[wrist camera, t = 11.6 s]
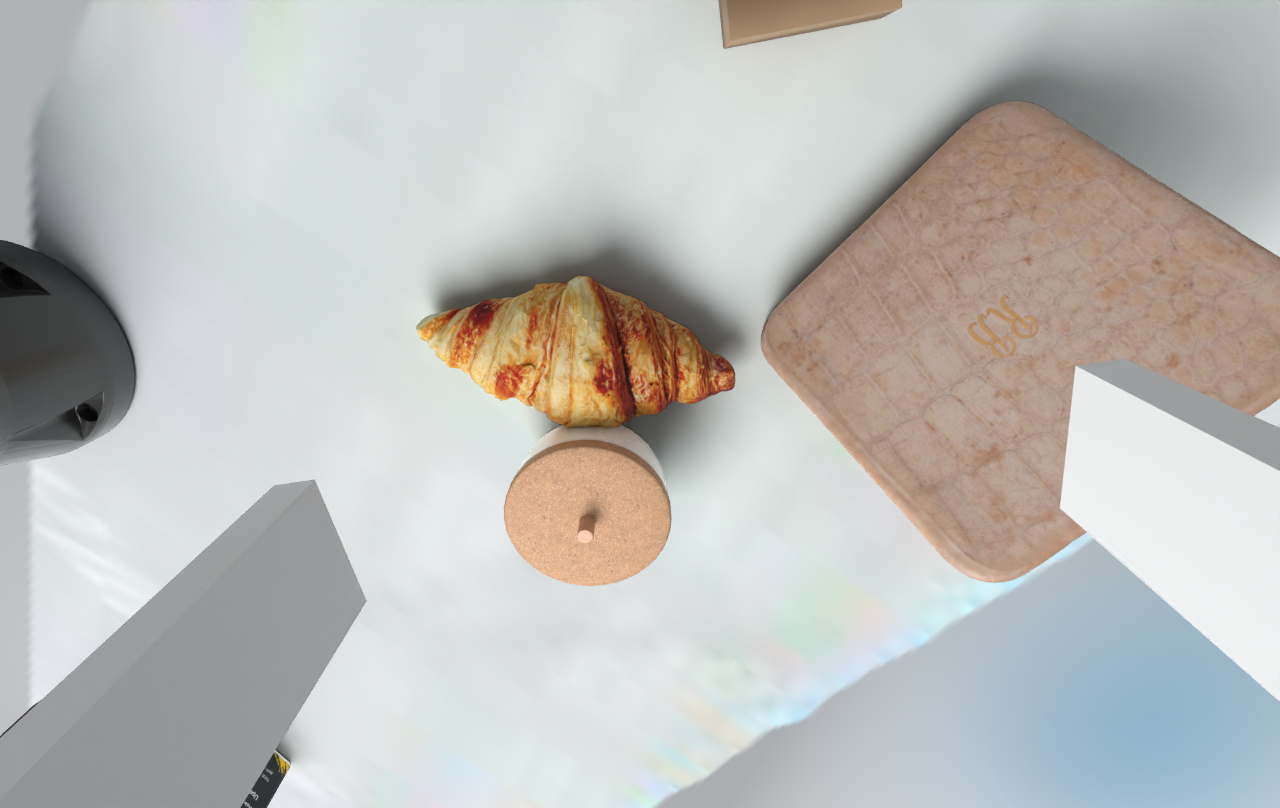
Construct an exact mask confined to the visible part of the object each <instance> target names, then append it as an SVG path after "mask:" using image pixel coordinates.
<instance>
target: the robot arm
mask: <svg viewBox="0 0 1280 808" xmlns="http://www.w3.org/2000/svg"><path fill="white" fill-rule="evenodd" d="M134 384H135V375H134V366H133V360H132V356H131V352H130V349H129V346H128V344H127V341H126V339H125V337H124V334H123V332H122V330H121V328H120V327H119V325H118V323H117V321H116V320H115V318H114V317H113V315H112V314H111V312H110V311H109V310H108V308H107V307H106V306H105V304H104V303H103V302H102V301H101V300H100V298H99V297H98V296H97V295H96V294H95V293H94V292H93V291H92V290H91V289H90V288H89V287H88V286H87V285H86V284H85V283H84V282H83V281H81V280H80V279H79V278H78V277H77V276H75V275H74V274H73V273H71V272H70V271H69V270H67V269H66V268H65V267H63V266H62V265H60V264H58V263H57V262H55V261H54V260H52V259H50V258H48V257H46V256H45V255H43V254H41V253H39V252H36V251H34V250H32V249H29V248H27V247H24V246H21V245H18V244H15V243H12V242H8V241H3V240H0V466H1V465H7V464H12V463H18V462H23V461H29V460H35V459H40V458H46V457H51V456H56V455H60V454H64V453H67V452H70V451H73V450H75V449H78V448H80V447H82V446H84V445H85V444H87V443H89V442H91V441H93V440H95V439H97V438H99V437H100V436H102V435H104V434H106V433H107V432H109V431H110V430H111V429H113V428H114V427H115V426H116V425H117V424H118V423H119V422H120V421H121V420H122V418H123V417H124V415H125V414H126V412H127V410H128V408H129V406H130V404H131V400H132V397H133V392H134ZM1060 509H1061V510H1062V511H1064V512H1065V513H1066V514H1067V515H1068V516H1069V517H1070V518H1072V519H1073V520H1074V521H1075V522H1076V523H1077V524H1078V525H1080V526H1081V527H1082V528H1083V529H1084V530H1085V531H1086V532H1087V533H1089V534H1090V535H1091V536H1092V537H1093V538H1094V539H1095V540H1097V541H1098V542H1099V543H1100V544H1101V545H1103V546H1104V547H1105V548H1106V549H1107V550H1108V551H1109V552H1110V553H1111V554H1113V555H1114V556H1115V557H1116V558H1117V559H1118V560H1119V561H1121V562H1122V563H1123V564H1124V565H1125V566H1126V567H1127V568H1129V569H1130V570H1131V571H1132V572H1133V573H1134V574H1135V575H1137V576H1138V577H1139V578H1140V579H1141V580H1142V581H1143V582H1144V583H1146V584H1147V585H1148V586H1149V587H1150V588H1151V589H1152V590H1153V591H1155V592H1156V593H1157V594H1158V595H1159V596H1160V597H1162V598H1163V599H1164V600H1165V601H1166V602H1167V603H1168V604H1170V605H1171V606H1172V607H1173V608H1174V609H1175V610H1176V611H1178V612H1179V613H1180V614H1181V615H1182V616H1183V617H1184V618H1185V619H1186V620H1188V621H1189V622H1190V623H1191V624H1192V625H1193V626H1194V627H1196V628H1197V629H1198V630H1199V631H1200V632H1201V633H1202V634H1204V635H1205V636H1206V637H1207V638H1208V639H1209V640H1211V642H1213V643H1214V644H1215V645H1216V646H1217V647H1218V648H1219V649H1221V650H1222V651H1223V652H1224V653H1225V654H1226V655H1227V656H1229V657H1230V658H1231V659H1232V660H1233V661H1234V662H1235V663H1237V664H1238V665H1239V666H1240V667H1241V668H1242V669H1243V670H1244V671H1246V672H1247V673H1248V674H1249V675H1250V676H1251V677H1252V678H1254V679H1255V680H1256V681H1257V682H1258V683H1259V684H1260V685H1262V686H1263V687H1264V688H1265V689H1266V690H1267V691H1268V692H1270V693H1271V694H1272V695H1273V696H1274V697H1275V698H1276V699H1278V700H1279V701H1280V428H1278V427H1276V426H1274V425H1272V424H1270V423H1267V422H1265V421H1263V420H1261V419H1258V418H1256V417H1254V416H1252V415H1249V414H1247V413H1245V412H1243V411H1241V410H1238V409H1236V408H1234V407H1232V406H1229V405H1227V404H1225V403H1223V402H1220V401H1218V400H1216V399H1214V398H1212V397H1209V396H1207V395H1205V394H1203V393H1200V392H1198V391H1196V390H1194V389H1191V388H1189V387H1187V386H1185V385H1183V384H1180V383H1178V382H1176V381H1174V380H1171V379H1169V378H1167V377H1165V376H1162V375H1160V374H1158V373H1156V372H1153V371H1151V370H1149V369H1147V368H1145V367H1142V366H1140V365H1138V364H1136V363H1133V362H1131V361H1129V360H1127V359H1118V360H1111V361H1104V362H1097V363H1091V364H1084V365H1077V366H1075V376H1074V385H1073V394H1072V403H1071V412H1070V421H1069V430H1068V439H1067V448H1066V457H1065V466H1064V475H1063V484H1062V493H1061V502H1060ZM365 602H366V599H365V596H364V594H363V592H362V589H361V587H360V585H359V582H358V580H357V578H356V575H355V573H354V571H353V568H352V566H351V564H350V561H349V559H348V557H347V554H346V552H345V550H344V547H343V545H342V543H341V540H340V538H339V536H338V533H337V531H336V529H335V526H334V524H333V522H332V519H331V517H330V515H329V512H328V510H327V508H326V505H325V503H324V501H323V498H322V496H321V494H320V491H319V489H318V487H317V484H316V482H315V480H309V481H302V482H295V483H289V484H282V485H275V486H273V487H272V488H271V489H270V490H269V491H268V492H267V493H266V494H265V495H263V496H262V497H261V498H260V499H259V500H258V501H257V502H256V503H255V504H254V505H253V506H252V507H250V508H249V509H248V510H247V511H246V512H245V513H244V514H243V515H242V516H241V517H240V518H239V519H237V520H236V521H235V522H234V523H233V524H232V525H231V526H230V527H229V528H228V529H227V530H225V531H224V532H223V533H222V534H221V535H220V536H219V537H218V538H217V539H216V540H215V541H214V542H212V543H211V544H210V545H209V546H208V547H207V548H206V549H205V550H204V551H203V552H202V553H201V554H199V555H198V556H197V557H196V558H195V559H194V560H193V561H192V562H191V563H190V564H189V565H188V566H186V567H185V568H184V569H183V570H182V571H181V572H180V573H179V574H178V575H177V576H176V577H174V578H173V579H172V580H171V581H170V582H169V583H168V584H167V585H166V586H165V587H164V588H163V589H161V590H160V591H159V592H158V593H157V594H156V595H155V596H154V597H153V598H152V599H151V600H150V601H148V602H147V603H146V604H145V605H144V606H143V607H142V608H141V609H140V610H139V611H138V612H136V613H135V614H134V615H133V616H132V617H131V618H130V619H129V620H128V621H127V622H126V623H125V624H123V625H122V626H121V627H120V628H119V629H118V630H117V631H116V632H115V633H114V634H113V635H112V636H110V637H109V638H108V639H107V640H106V641H105V642H104V643H103V644H102V645H101V646H100V647H99V648H97V649H96V650H95V651H94V652H93V653H92V654H91V655H90V656H89V657H88V658H87V659H85V660H84V661H83V662H82V663H81V664H80V665H79V666H78V667H77V668H76V669H75V670H74V671H72V672H71V673H70V674H69V675H68V676H67V677H66V678H65V679H64V680H63V681H62V682H61V683H59V684H58V685H57V686H56V687H55V688H54V689H53V690H52V691H51V692H50V693H49V694H47V695H46V696H45V697H44V698H43V699H42V700H41V701H39V702H38V703H36V704H35V705H33V706H32V707H31V708H30V709H29V710H28V711H27V712H26V713H25V714H24V715H23V716H22V717H20V718H19V719H18V720H17V721H16V722H15V723H14V724H13V725H12V726H11V727H9V728H8V729H7V730H6V731H5V732H4V733H3V734H2V735H1V736H0V808H240V807H241V806H242V804H243V802H244V801H245V799H246V798H247V796H248V794H249V793H250V791H251V789H252V788H253V786H254V784H255V783H256V781H257V780H258V778H259V776H260V775H261V773H262V771H263V770H264V768H265V766H266V765H267V763H268V761H269V760H270V758H271V757H272V755H273V753H274V752H275V750H276V748H277V747H278V745H279V743H280V742H281V740H282V739H283V737H284V735H285V734H286V732H287V730H288V729H289V727H290V725H291V724H292V722H293V720H294V719H295V717H296V716H297V714H298V712H299V711H300V709H301V707H302V706H303V704H304V702H305V701H306V699H307V698H308V696H309V694H310V693H311V691H312V689H313V688H314V686H315V684H316V683H317V681H318V679H319V678H320V676H321V675H322V673H323V671H324V670H325V668H326V666H327V665H328V663H329V661H330V660H331V658H332V657H333V655H334V653H335V652H336V650H337V648H338V647H339V645H340V643H341V642H342V640H343V639H344V637H345V635H346V634H347V632H348V630H349V629H350V627H351V625H352V624H353V622H354V620H355V619H356V617H357V616H358V614H359V612H360V611H361V609H362V607H363V606H364V604H365Z"/></svg>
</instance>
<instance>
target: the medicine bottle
mask: <svg viewBox="0 0 1280 808" xmlns="http://www.w3.org/2000/svg"><path fill="white" fill-rule="evenodd" d="M289 768H290V762H289V761H287V760H286V759H285V758H284V757H283V756H282V755H281V754H279V753H278V752H277V751H276V750H275V752H274V753H273V755H272V757H271V758H270V760H269V761H268V763H267V765H266V766H265V768H264V770H263V771H262V773H261V775H260V776H259V778H258V780H257V781H256V783H255V784H254V786H253V788H252V789H251V791H250V793H249V794H248V796H247V798H246V799H245V801H244V802H243V804H242V806H241V807H240V808H267V806H268V805H269V803H270V801H271V799H272V798H273V796H274V794H275V792H276V791H277V789H278V787H279V785H280V784H281V782H282V780H283V778H284V777H285V775H286V773H287V771H288V770H289Z"/></svg>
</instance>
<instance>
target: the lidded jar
mask: <svg viewBox="0 0 1280 808" xmlns="http://www.w3.org/2000/svg"><path fill="white" fill-rule="evenodd" d="M504 521H505V525H506V530H507V533H508V535H509V538H510V540H511V542H512V543H513V545H514V547H515V548H516V550H517V551H518V552H519V554H520V555H521V556H522V557H523V558H524V559H525V560H526V561H527V562H528V563H529V564H530V565H532V566H533V567H534V568H536V569H537V570H539V571H540V572H542V573H543V574H545V575H547V576H550V577H552V578H554V579H557V580H560V581H563V582H566V583H570V584H576V585H587V586H595V585H605V584H611V583H616V582H618V581H621V580H624V579H627V578H629V577H631V576H633V575H635V574H637V573H639V572H640V571H642V570H643V569H644V568H646V567H647V566H648V565H649V564H650V563H651V562H653V561H654V560H655V559H656V557H657V556H658V555H659V553H660V552H661V551H662V549H663V547H664V545H665V543H666V541H667V539H668V535H669V532H670V527H671V507H670V500H669V497H668V491H667V485H666V481H665V477H664V474H663V471H662V468H661V466H660V464H659V461H658V459H657V457H656V456H655V454H654V452H653V451H652V450H651V448H650V447H649V445H648V444H647V443H646V442H645V441H644V440H643V439H642V438H641V437H639V436H638V435H637V434H635V433H634V432H633V431H631V430H630V429H628V428H626V427H624V426H622V425H620V426H617V427H612V428H603V427H572V428H566V426H565V425H564V426H563V425H561V426H559V427H557V428H555V429H553V430H552V431H550V432H548V433H547V434H546V435H545V436H544V437H542V438H541V439H540V440H539V441H538V442H537V443H536V444H535V445H534V446H533V448H532V449H531V450H530V451H529V453H528V454H527V456H526V457H525V459H524V460H523V462H522V464H521V465H520V467H519V470H518V472H517V474H516V476H515V477H514V479H513V481H512V482H511V485H510V488H509V490H508V493H507V496H506V500H505V506H504Z"/></svg>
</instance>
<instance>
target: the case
mask: <svg viewBox="0 0 1280 808" xmlns="http://www.w3.org/2000/svg"><path fill="white" fill-rule="evenodd" d="M761 347H762V351H763V354H764V356H765V358H766V360H767V361H768V363H769V364H770V365H771V366H772V368H773V369H774V370H775V371H776V372H777V373H778V375H779V376H780V377H781V378H782V379H783V380H784V381H785V382H786V384H787V385H788V386H789V387H790V388H791V389H792V390H793V391H794V392H795V393H796V394H797V395H798V396H799V398H800V399H801V400H802V401H803V402H804V403H805V404H806V406H807V407H808V408H809V409H810V410H811V411H812V412H813V413H814V414H815V415H816V416H817V417H818V418H819V420H820V421H821V422H822V423H823V424H824V425H825V426H826V428H827V429H828V430H829V431H830V432H831V433H832V434H833V435H834V436H835V437H836V438H837V439H838V440H839V441H840V443H841V444H842V445H843V446H844V447H845V448H846V450H847V451H848V452H849V453H850V454H851V455H852V456H853V457H854V458H855V460H856V461H857V462H858V463H859V464H860V465H861V466H862V467H863V468H864V470H865V471H866V472H867V473H868V474H869V475H870V476H871V477H872V478H873V480H874V481H875V482H876V483H877V484H878V485H879V486H880V487H881V488H882V489H883V491H884V492H885V493H886V494H887V495H888V496H889V497H890V499H891V500H892V501H893V502H894V503H895V504H896V505H897V506H898V507H899V509H900V510H901V511H902V512H903V513H904V514H905V515H906V517H907V518H908V519H909V520H910V521H911V522H912V523H913V524H914V525H915V526H916V528H917V529H918V530H919V531H920V532H921V533H922V534H923V536H924V537H925V538H926V539H927V540H928V541H929V542H930V543H931V545H932V546H933V547H934V548H935V549H936V550H937V551H938V552H939V553H940V555H941V556H942V557H943V558H944V559H945V560H946V561H947V562H948V563H949V564H951V565H952V566H953V567H954V568H956V569H957V570H959V571H960V572H961V573H963V574H965V575H967V576H969V577H971V578H974V579H977V580H980V581H984V582H995V583H996V582H1006V581H1011V580H1014V579H1016V578H1018V577H1020V576H1022V575H1024V574H1026V573H1027V572H1029V571H1031V570H1032V569H1034V568H1036V567H1037V566H1039V565H1041V564H1042V563H1043V562H1045V561H1046V560H1048V559H1049V558H1050V557H1052V556H1053V555H1055V554H1056V553H1058V552H1059V551H1061V550H1062V549H1064V548H1065V547H1066V546H1068V545H1069V544H1070V543H1071V542H1072V541H1074V540H1076V539H1077V538H1079V537H1080V536H1082V535H1083V534H1085V533H1086V531H1085V530H1084V529H1083V528H1082V527H1081V526H1080V525H1078V524H1077V523H1076V522H1075V521H1074V520H1073V519H1072V518H1070V517H1069V516H1068V515H1067V514H1066V513H1065V512H1064V511H1062V510H1061V509H1060V502H1061V493H1062V484H1063V475H1064V466H1065V457H1066V448H1067V439H1068V430H1069V421H1070V412H1071V403H1072V394H1073V385H1074V376H1075V366H1077V365H1084V364H1091V363H1097V362H1104V361H1111V360H1118V359H1127V360H1129V361H1131V362H1133V363H1136V364H1138V365H1140V366H1142V367H1145V368H1147V369H1149V370H1151V371H1153V372H1156V373H1158V374H1160V375H1162V376H1165V377H1167V378H1169V379H1171V380H1174V381H1176V382H1178V383H1180V384H1183V385H1185V386H1187V387H1189V388H1191V389H1194V390H1196V391H1198V392H1200V393H1203V394H1205V395H1207V396H1209V397H1212V398H1214V399H1216V400H1218V401H1220V402H1223V403H1225V404H1227V405H1229V406H1232V407H1234V408H1236V409H1238V410H1241V411H1243V412H1245V413H1247V414H1249V415H1252V416H1255V415H1256V414H1257V413H1259V412H1261V411H1262V410H1264V409H1265V408H1267V407H1268V406H1270V405H1271V404H1273V403H1274V402H1275V401H1277V400H1278V399H1280V257H1278V256H1277V255H1275V254H1273V253H1272V252H1270V251H1269V250H1267V249H1266V248H1264V247H1262V246H1261V245H1259V244H1257V243H1256V242H1254V241H1252V240H1251V239H1249V238H1248V237H1246V236H1245V235H1243V234H1241V233H1240V232H1238V231H1237V230H1236V229H1234V228H1233V227H1231V226H1230V225H1228V224H1227V223H1225V222H1223V221H1222V220H1220V219H1218V218H1217V217H1216V216H1214V215H1212V214H1211V213H1209V212H1208V211H1206V210H1204V209H1203V208H1201V207H1200V206H1198V205H1196V204H1195V203H1193V202H1191V201H1190V200H1188V199H1187V198H1185V197H1184V196H1182V195H1180V194H1179V193H1177V192H1175V191H1174V190H1173V189H1171V188H1169V187H1168V186H1166V185H1165V184H1163V183H1161V182H1159V181H1157V180H1156V179H1155V178H1153V177H1152V176H1150V175H1149V174H1147V173H1146V172H1144V171H1143V170H1141V169H1139V168H1138V167H1136V166H1134V165H1133V164H1131V163H1129V162H1128V161H1126V160H1125V159H1124V158H1122V157H1121V156H1119V155H1117V154H1116V153H1114V152H1112V151H1111V150H1109V149H1107V148H1106V147H1105V146H1103V145H1102V144H1100V143H1098V142H1097V141H1095V140H1094V139H1092V138H1091V137H1089V136H1088V135H1086V134H1085V133H1083V132H1082V131H1080V130H1078V129H1076V128H1075V127H1074V126H1072V125H1071V124H1069V123H1068V122H1066V121H1065V120H1063V119H1062V118H1060V117H1058V116H1056V115H1054V114H1053V113H1052V112H1050V111H1048V110H1047V109H1045V108H1043V107H1041V106H1039V105H1037V104H1034V103H1030V102H1025V101H1008V102H1002V103H999V104H996V105H993V106H991V107H989V108H987V109H985V110H983V111H981V112H979V113H978V114H976V115H975V116H973V117H972V118H971V119H969V120H968V121H967V122H966V123H965V124H964V125H963V126H962V127H960V129H958V130H957V131H956V132H955V133H954V134H953V135H952V136H951V137H950V138H949V139H948V140H947V141H946V142H945V143H944V144H943V145H942V146H941V147H940V148H939V149H938V150H937V151H936V152H935V153H934V154H933V155H932V156H931V157H930V158H929V159H928V160H927V161H926V162H925V163H924V164H923V165H922V166H921V167H920V168H919V169H918V170H917V171H916V172H915V173H914V174H913V175H912V176H911V177H910V178H909V179H908V180H907V181H906V182H905V183H904V184H903V185H902V186H901V187H900V188H899V189H898V190H897V191H896V192H895V193H894V194H893V195H892V196H890V197H889V198H888V199H887V200H886V201H885V202H884V203H883V204H882V205H881V206H880V207H879V208H878V209H877V210H876V211H875V212H874V213H873V214H872V215H871V216H870V217H869V218H868V219H867V220H866V221H865V222H864V223H863V224H862V225H861V226H860V227H859V228H858V229H857V230H855V231H854V232H853V233H852V234H851V235H850V236H849V237H848V238H847V239H846V240H845V241H844V242H843V243H842V244H841V245H840V246H839V247H838V248H837V249H835V250H834V251H833V252H832V253H831V254H830V256H828V257H827V258H826V259H825V260H824V261H823V262H822V263H821V264H820V265H819V266H818V267H817V268H816V269H815V270H814V271H813V272H812V273H811V274H810V275H809V276H808V277H806V278H805V279H804V280H803V281H802V282H801V283H800V284H799V285H798V286H797V287H796V288H795V289H794V290H793V291H792V292H791V293H790V294H789V295H788V296H787V297H786V298H785V299H784V300H782V301H781V302H780V303H779V305H778V306H777V307H776V308H775V309H774V310H773V312H772V313H771V314H770V316H769V317H768V319H767V320H766V322H765V324H764V327H763V330H762V335H761Z"/></svg>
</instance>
